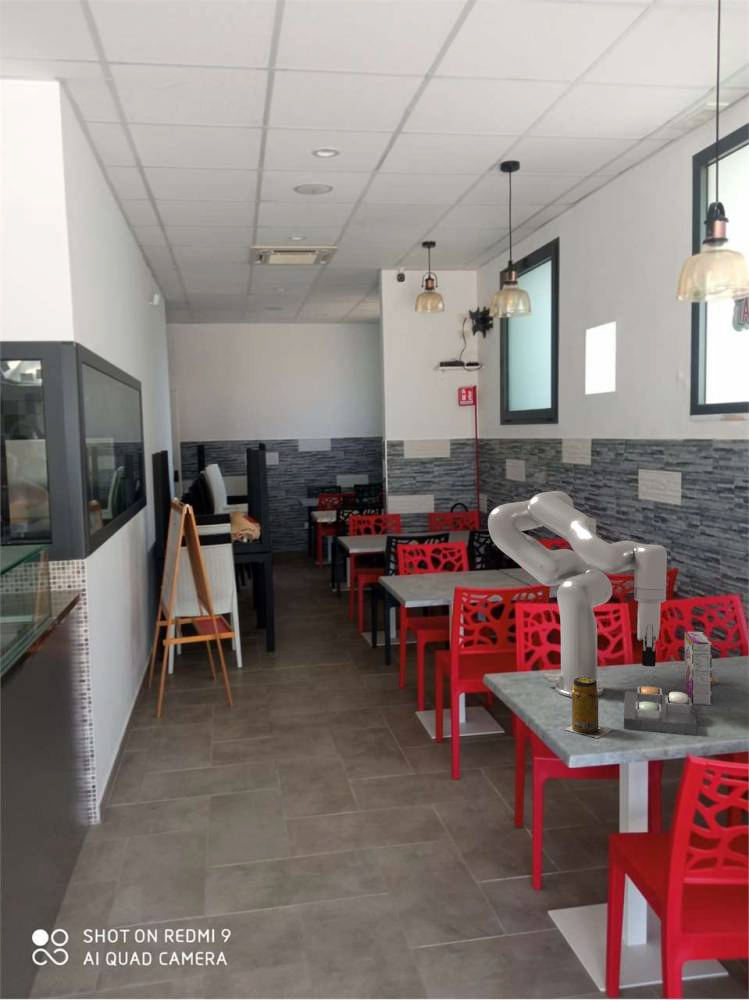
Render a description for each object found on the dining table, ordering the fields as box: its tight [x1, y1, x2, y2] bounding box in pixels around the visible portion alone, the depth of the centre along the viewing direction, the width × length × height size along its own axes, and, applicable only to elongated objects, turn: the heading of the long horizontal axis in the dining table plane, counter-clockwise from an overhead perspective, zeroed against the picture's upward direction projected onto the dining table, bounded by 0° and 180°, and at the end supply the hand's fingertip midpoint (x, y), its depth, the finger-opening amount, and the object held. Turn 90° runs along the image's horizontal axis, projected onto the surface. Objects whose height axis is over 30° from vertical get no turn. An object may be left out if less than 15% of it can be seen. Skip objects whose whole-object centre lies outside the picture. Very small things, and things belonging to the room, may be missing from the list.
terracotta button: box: [641, 685, 659, 694], centre depth 198 cm, size 4×4×2 cm
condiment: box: [564, 677, 613, 739], centre depth 184 cm, size 7×8×12 cm
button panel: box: [623, 685, 698, 736], centre depth 192 cm, size 16×20×4 cm
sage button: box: [639, 702, 658, 711], centre depth 187 cm, size 4×4×2 cm
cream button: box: [668, 691, 688, 705], centre depth 190 cm, size 4×4×2 cm
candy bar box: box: [684, 631, 713, 706], centre depth 204 cm, size 11×5×16 cm, turn 168°
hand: (648, 665), depth 198 cm, fingers closed
